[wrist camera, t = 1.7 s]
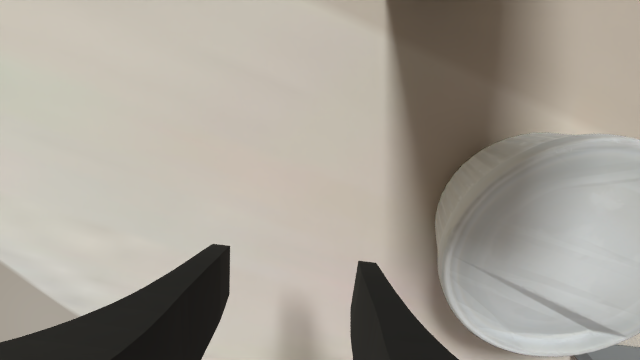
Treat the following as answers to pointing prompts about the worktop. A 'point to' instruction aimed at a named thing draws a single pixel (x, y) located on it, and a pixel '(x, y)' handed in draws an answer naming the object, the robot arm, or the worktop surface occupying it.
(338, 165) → the worktop surface
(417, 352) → the robot arm
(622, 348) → the grey tray
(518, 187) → the ramekin
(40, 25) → the worktop surface
